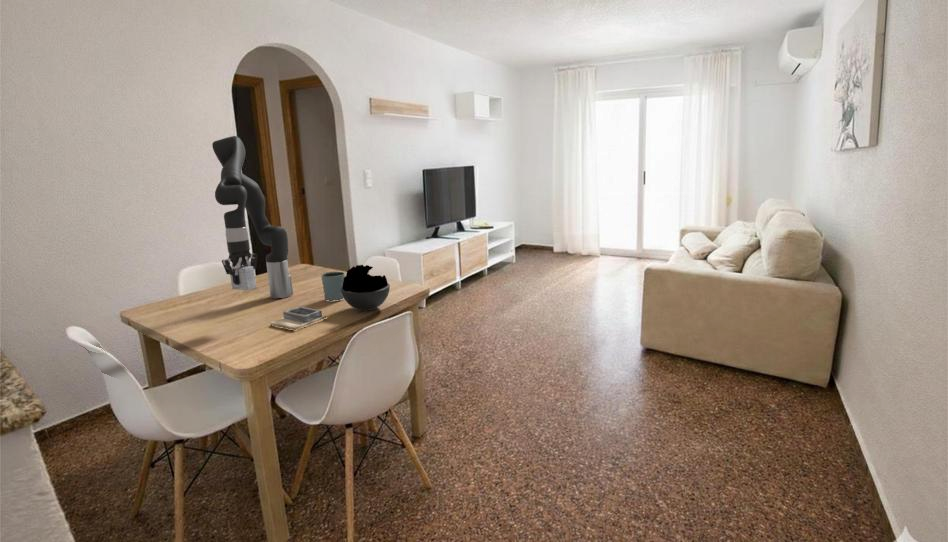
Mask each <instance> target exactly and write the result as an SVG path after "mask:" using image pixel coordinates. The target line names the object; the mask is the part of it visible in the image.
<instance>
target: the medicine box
mask: <svg viewBox="0 0 948 542" xmlns="http://www.w3.org/2000/svg"><path fill="white" fill-rule="evenodd" d="M235 267H236V266H235ZM238 275H239V282H240V284H239V285H235V284H234V283H233V278H232V275H229V276H230V282H231V288H232V290H240V291H251V290H254V289H256V288H257V281H256V276H255V269H254V268H253V266H243V265H242V266H240V269H239V270H238Z"/></svg>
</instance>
